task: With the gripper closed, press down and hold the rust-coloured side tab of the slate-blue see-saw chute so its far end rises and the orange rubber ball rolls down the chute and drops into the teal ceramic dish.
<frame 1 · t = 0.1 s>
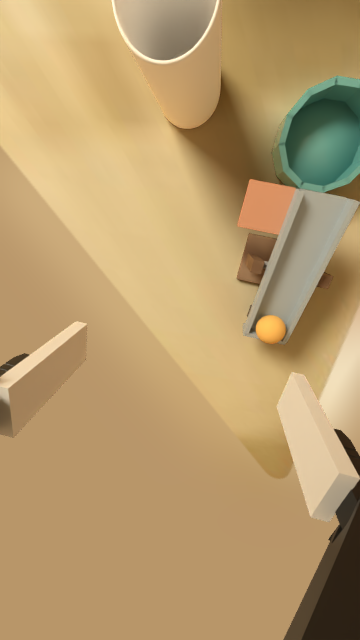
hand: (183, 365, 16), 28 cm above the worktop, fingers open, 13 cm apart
stand: (277, 263, 39), on the worktop
ball: (270, 329, 35), point 8 cm above the worktop, tilted 16°, touching lever
dish: (316, 147, 33), on the worktop
lever: (270, 271, 33), point 7 cm above the worktop, hinge at 12.0°, touching ball
cup: (189, 91, 33), on the worktop
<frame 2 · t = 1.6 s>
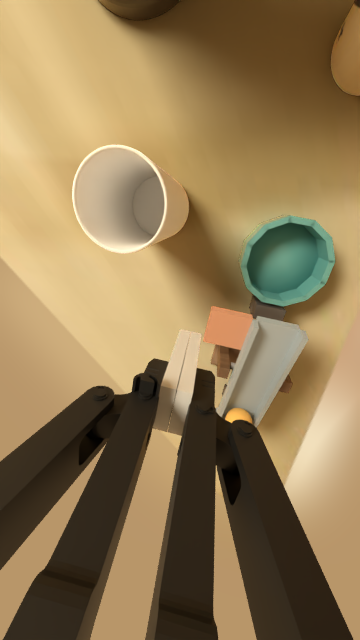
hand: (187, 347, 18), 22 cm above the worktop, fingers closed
stand: (248, 351, 42), on the worktop
ball: (238, 421, 38), point 8 cm above the worktop, tilted 16°, touching lever
dish: (279, 258, 36), on the worktop
lever: (235, 374, 36), point 7 cm above the worktop, hinge at 12.0°, touching ball
cup: (160, 207, 36), on the worktop
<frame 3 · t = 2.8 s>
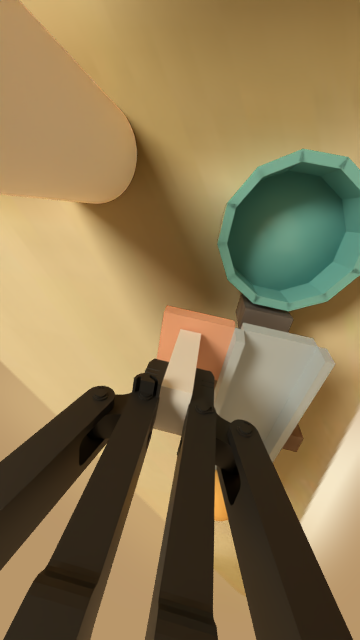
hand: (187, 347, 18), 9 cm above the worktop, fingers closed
stand: (235, 375, 29), on the worktop
ball: (218, 494, 24), point 9 cm above the worktop, tilted 11°, touching lever
dish: (282, 235, 23), on the worktop
lever: (212, 420, 22), point 7 cm above the worktop, hinge at 7.3°, touching ball, gripper
cup: (93, 153, 22), on the worktop
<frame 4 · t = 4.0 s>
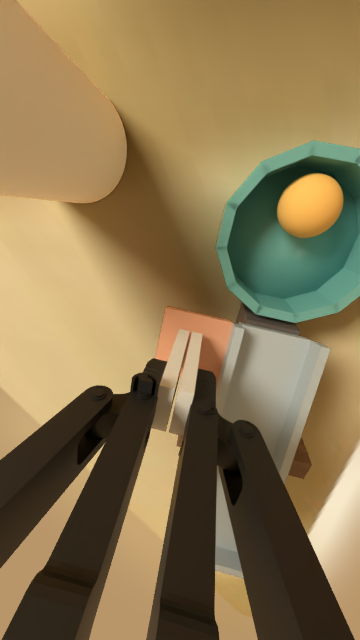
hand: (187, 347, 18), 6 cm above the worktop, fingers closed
stand: (235, 389, 27), on the worktop
ball: (308, 207, 17), point 3 cm above the worktop, tilted 71°, touching dish
dish: (287, 238, 20), on the worktop
lever: (210, 442, 20), point 7 cm above the worktop, hinge at -12.9°, touching gripper, stand
cup: (78, 147, 20), on the worktop
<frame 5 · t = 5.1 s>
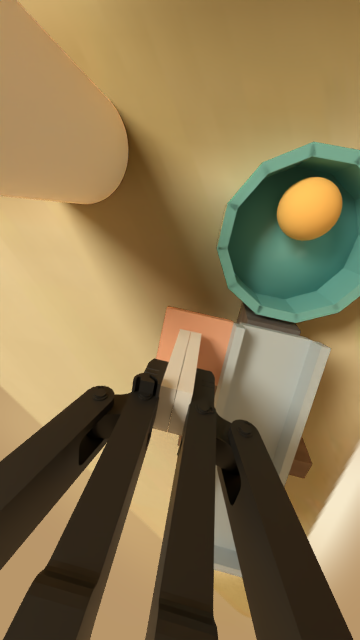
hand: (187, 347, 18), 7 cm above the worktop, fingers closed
stand: (236, 389, 27), on the worktop
ball: (307, 210, 17), point 3 cm above the worktop, tilted 66°, touching dish
dish: (287, 238, 21), on the worktop
lever: (211, 441, 20), point 7 cm above the worktop, hinge at -12.9°, touching stand
cup: (80, 148, 20), on the worktop
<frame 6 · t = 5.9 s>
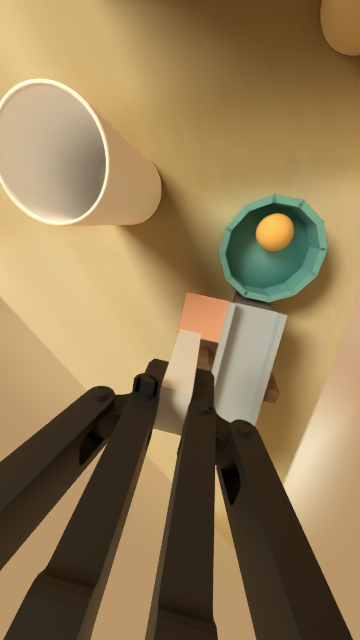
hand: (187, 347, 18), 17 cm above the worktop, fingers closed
stand: (231, 355, 37), on the worktop
ball: (274, 232, 28), point 3 cm above the worktop, tilted 63°, touching dish
dish: (264, 248, 31), on the worktop
lever: (214, 381, 31), point 7 cm above the worktop, hinge at -12.9°, touching stand
cup: (129, 189, 31), on the worktop
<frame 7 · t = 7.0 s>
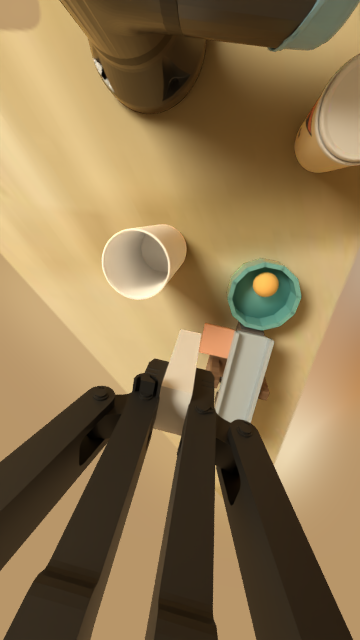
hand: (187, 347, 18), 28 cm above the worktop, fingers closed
stand: (235, 364, 50), on the worktop
ball: (265, 284, 41), point 3 cm above the worktop, tilted 59°, touching dish
dish: (259, 291, 44), on the worktop
lever: (224, 385, 44), point 7 cm above the worktop, hinge at -12.9°, touching stand
coffee cup: (323, 141, 35), on the worktop
cup: (163, 249, 44), on the worktop
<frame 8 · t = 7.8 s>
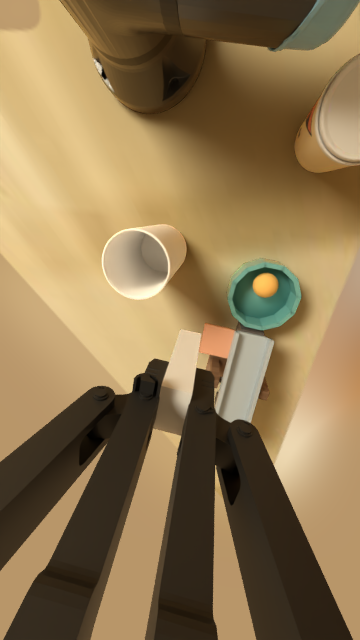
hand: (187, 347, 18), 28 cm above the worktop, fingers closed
stand: (235, 364, 50), on the worktop
ball: (265, 285, 41), point 3 cm above the worktop, tilted 56°, touching dish
dish: (259, 290, 44), on the worktop
lever: (224, 385, 44), point 7 cm above the worktop, hinge at -12.9°, touching stand
coffee cup: (323, 141, 35), on the worktop
cup: (163, 249, 44), on the worktop
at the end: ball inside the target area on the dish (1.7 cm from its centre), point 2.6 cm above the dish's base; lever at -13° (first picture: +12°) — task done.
